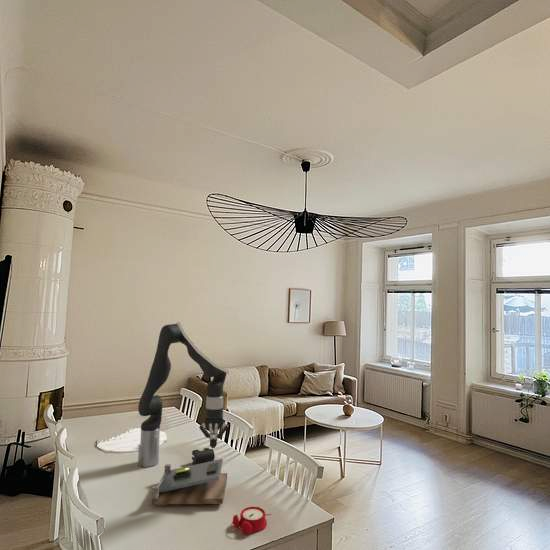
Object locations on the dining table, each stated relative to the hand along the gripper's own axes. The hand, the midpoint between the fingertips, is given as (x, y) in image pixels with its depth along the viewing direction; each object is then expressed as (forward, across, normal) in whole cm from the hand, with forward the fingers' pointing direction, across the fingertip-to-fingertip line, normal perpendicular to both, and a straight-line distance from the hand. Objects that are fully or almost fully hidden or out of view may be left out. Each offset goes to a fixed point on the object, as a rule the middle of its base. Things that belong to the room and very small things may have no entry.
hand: (213, 447), depth 163 cm
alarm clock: (+20, +16, -24) cm, 35 cm away
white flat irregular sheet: (+20, -54, +64) cm, 86 cm away
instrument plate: (+12, -9, 0) cm, 15 cm away
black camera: (+19, -8, +31) cm, 38 cm away
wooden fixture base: (+19, -8, 0) cm, 21 cm away
